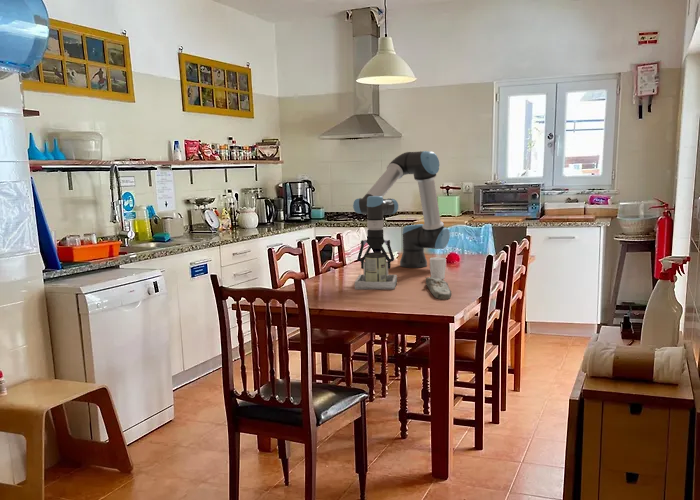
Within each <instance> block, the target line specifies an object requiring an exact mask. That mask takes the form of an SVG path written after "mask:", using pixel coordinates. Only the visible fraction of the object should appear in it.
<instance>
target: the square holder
mask: <svg viewBox="0 0 700 500" xmlns="http://www.w3.org/2000/svg"><path fill="white" fill-rule="evenodd" d="M397 277H398V275H397V274H388V276H387V282H378V281H366V276H364V274H358V276H357V278H356V279H355V281H354V290H381V291H382V290H387V291H388V290H389V291H390V290H392V291H394V290H395V289H396V287H397V282H398V278H397Z"/></svg>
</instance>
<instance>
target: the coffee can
mask: <svg viewBox="0 0 700 500" xmlns="http://www.w3.org/2000/svg"><path fill="white" fill-rule="evenodd" d="M364 255H365V254H364ZM385 256H386V254H384V255H383V253H382V251H380V252H378V251H377V252H376V251H375V252H372V251H371V252H369V253H368V254H367V255H365V260H364V262H365V275H366V281H378V282H387V276H386V262H387V260H386V257H385Z"/></svg>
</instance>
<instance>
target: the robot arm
mask: <svg viewBox="0 0 700 500" xmlns="http://www.w3.org/2000/svg"><path fill="white" fill-rule="evenodd" d="M439 170H440V160H439V157H438V155H437V154H436V153H435V152H434V151H429V150H428V151H427V150H423V151H421V150H420V151H406V152H403V153H401V154H399V155H398V156H396V157H395V158H393V159H392V160H391V161H390V162H389V163H388V164H387V165H386V170H385V171H384V172H383V173H382V174H381V175H380V177H379V178H378V179H377V181H376V182H375V183H374V184H373V185H372V186H371V188H370V189H369V190H368V191H367V192H366V193H365V195H364V196H363V197H362V198H361V197H359V198H356V199H354V200H353V204H352V205H353V206H352V208H353V211H354V212H355V213H357V214H362V215H367V217H366V222H367V223H366V226H367V227H366V228H367V231H366V232H367V239H366V240H364V239H361V241H360V248H359V251H358V255H357V258H356V260H357V262H359V263H360V268H361V270H363V275H364V276H366V275H365V255H367V254H368V253H370V251H371V250H374V249H377V250H380V252H381V253H383V255H384V254H386V256H385V257H386V276H388V275H389V270H390V269H391V263H392V262H394V261H395V256H394V254H393V253H394V252H393V250H392V247H391V240H390V239H388V240H387V239H384V216H387V215H388V216H389V215H391V216H392V215H393V214H394V215H395V214H396V213H397V212H398V210H399V203H398V201H397V200H396V199H395V198H384V196H386V194H387V193H388V191H389V190H390V189H391V188H392V187H393V186H394V184H395V183H396V182H397V180H401V179H402V178H403V176H405V175H413V178H414V180H415V181H416V182H417V185H418V190H419V196H420V203H421V210H422V216H423V223H417V224H411V225H405V226H404V227H403V228H402V255H401V257H400V260H399V261H400V262H399V266H400V267H402V268H407V269H408V268H410V269H411V268H415V269H416V268H417V269H418V268H426V267H427V266H428V260H427V257H426V255H425V249H433V250H444V249H445V248H447V246H448V245H449V242H450V237H451V233H450V230H449V228H447V227H445V223H444V222H443V221H442V220H441V215H440V210H439V209H440V208H439V203H438V196H437V190H436V182H435V178H436V177H437V173H438V172H439ZM366 244H367V245H368V248H367V249H366V251H365V253H364V255H363V256H362V254H363V251H364V247H365V245H366ZM384 244H385V245H386V247H387V251H388V253H389V255H388V253H387V252H386V250H385V249H384V247H383V245H384ZM361 257H362V258H361Z"/></svg>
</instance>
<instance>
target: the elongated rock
mask: <svg viewBox="0 0 700 500" xmlns="http://www.w3.org/2000/svg"><path fill="white" fill-rule="evenodd" d="M425 284H426V287H427V289H429V292H430V293H431V294H432V296H433V297H434V298H435V299H438V300H443V299H444V300H445V299H446V300H450V299H451V297H452V290H451V289H450V287H449V283H448V282H447V281H445V280H444V279H439V278H433V277H431V276H427V277H426V278H425Z"/></svg>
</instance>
